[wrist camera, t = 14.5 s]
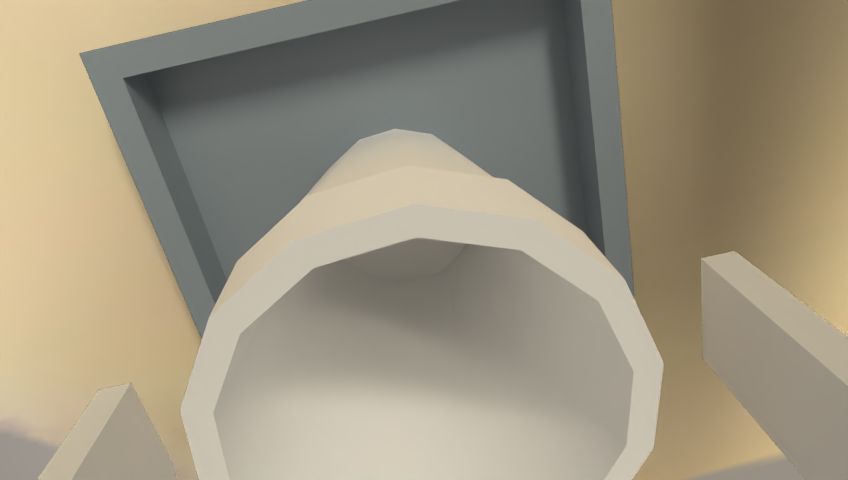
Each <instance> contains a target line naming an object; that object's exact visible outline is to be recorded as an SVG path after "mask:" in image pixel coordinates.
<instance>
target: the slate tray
mask: <svg viewBox="0 0 848 480" xmlns="http://www.w3.org/2000/svg"><path fill="white" fill-rule="evenodd" d="M79 54H80V57H81V59H82V61H83V64H84V66H85V68H86V71H87V73H88V75H89V78H90V80H91V82H92V85H93V87H94V89H95V92H96V94H97V96H98V99H99V101H100V103H101V106H102V108H103V110H104V113H105V115H106V117H107V120H108V122H109V124H110V127H111V129H112V131H113V134H114V136H115V138H116V141H117V143H118V145H119V148H120V150H121V152H122V155H123V157H124V159H125V162H126V164H127V166H128V168H129V171H130V173H131V175H132V178H133V180H134V182H135V185H136V187H137V189H138V192H139V194H140V196H141V199H142V201H143V203H144V206H145V208H146V210H147V213H148V215H149V217H150V220H151V222H152V224H153V227H154V229H155V231H156V234H157V236H158V238H159V241H160V243H161V245H162V248H163V250H164V252H165V255H166V257H167V259H168V262H169V264H170V266H171V269H172V271H173V273H174V276H175V278H176V280H177V283H178V285H179V287H180V290H181V292H182V294H183V296H184V299H185V301H186V303H187V306H188V308H189V310H190V313H191V315H192V317H193V320H194V322H195V324H196V327H197V329H198V331H199V334H200V336H201V338H203V334H204V331H205V328H206V325H207V322H208V319H209V316H210V314H211V312H212V310H213V308H214V306H215V304H216V302H217V300H218V298H219V296H220V294H221V292H222V290H223V288H224V286H225V284H226V282H227V280H228V278H229V276H230V274H231V272H232V270H233V268H234V266H235V264H236V262H237V261H238V260H239V259H240V258H241V257H242V256H243V255H244V254H245V253H246V252H247V251H248V250H250V249H251V248H252V247H253V246H254V245H255V244H256V243H257V242H258V241H259V240H260V239H261V238H262V237H263V236H265V235H266V234H267V233H268V232H269V231H270V230H271V229H272V228H273V227H274V226H275V225H276V224H277V223H278V222H280V221H281V220H282V219H283V218H284V217H285V216H286V215H287V214H288V213H289V212H290V211H291V210H292V209H294V208H295V207H296V206H297V205H298V204H299V203H300V202H301V200H302V199H303V198H304V197H305V196H306V195H307V193H308V192H309V191H310V190H311V189H312V188H313V186H314V185H315V184H316V183H317V182H318V181H319V180H320V178H321V177H322V176H323V175H324V174H325V173H326V171H327V170H328V169H329V168H330V167H331V166H332V165H333V164H334V163H335V162H336V161H337V160H338V159H339V158H340V157H341V156H343V155H344V154H345V153H346V152H347V151H348V150H349V149H350V148H351V147H352V146H353V145H354V144H355V143H356V142H357V141H359V140H360V139H363V138H366V137H370V136H373V135H376V134H379V133H383V132H386V131H389V130H392V129H400V130H407V131H414V132H421V133H427V134H432V135H434V136H436V137H437V138H438V139H440V140H441V141H443V142H444V143H446V144H447V145H449V146H450V147H452V148H453V149H454V150H456V151H457V152H459V153H460V154H462V155H463V156H465V157H466V158H467V159H469V160H470V161H472V162H473V163H474V164H476V165H477V166H478V167H480V168H481V169H483V170H484V171H485V172H487V173H488V174H489V175H491V176H492V177H495V178H502V179H508V180H509V181H511V182H512V183H514V184H515V185H517V186H518V187H519V188H521V189H522V190H524V191H525V192H527V193H528V194H530V195H531V196H532V197H534V198H535V199H537V200H538V201H540V202H541V203H543V204H544V205H545V206H547V207H548V208H550V209H551V210H553V211H554V212H556V213H557V214H558V215H560V216H561V217H563V218H564V219H566V220H567V221H569V222H570V223H572V224H573V225H574V226H576V227H577V228H579V229H580V230H582V231H583V232H584V233H585V234H586V235H587V237H588V238H589V239H590V240H591V241H592V242H593V244H594V245H595V246H596V247H597V248H598V249H599V250H600V252H601V253H602V254H603V255H604V256H605V257H606V258H607V260H608V261H609V262H610V263H611V264H612V265H613V267H614V268H615V269H616V270H617V271H618V272H619V273H620V275H621V276H622V277H623V278H624V279H625V281H626V283H627V285H628V287H629V289H630V291H631V293H632V296H633V298H634V286H633V273H632V260H631V247H630V234H629V221H628V208H627V196H626V183H625V170H624V157H623V144H622V131H621V118H620V105H619V92H618V79H617V66H616V53H615V41H614V28H613V15H612V2H611V0H307V1H303V2H299V3H294V4H290V5H286V6H282V7H277V8H273V9H269V10H264V11H260V12H256V13H251V14H247V15H243V16H238V17H234V18H230V19H225V20H221V21H217V22H212V23H208V24H204V25H200V26H195V27H191V28H187V29H182V30H178V31H174V32H169V33H165V34H161V35H156V36H152V37H148V38H143V39H139V40H135V41H130V42H126V43H122V44H118V45H113V46H109V47H105V48H100V49H96V50H92V51H87V52H83V53H79ZM634 300H635V299H634Z"/></svg>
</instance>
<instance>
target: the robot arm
mask: <svg viewBox="0 0 848 480" xmlns="http://www.w3.org/2000/svg"><path fill="white" fill-rule="evenodd" d="M701 298H702V358H703V360H704V361H705V362H706V363H707V364H708V366H709V367H710V368H711V369H712V370H713V371H714V373H715V374H716V375H717V376H718V377H719V378H720V380H721V381H722V382H723V383H724V384H725V385H726V387H727V388H728V389H729V390H730V391H731V393H732V394H733V395H734V396H735V397H736V398H737V400H738V401H739V402H740V403H741V404H742V405H743V407H744V408H745V409H746V410H747V411H748V412H749V414H750V415H751V416H752V417H753V418H754V420H755V421H756V422H757V423H758V424H759V425H760V427H761V428H762V429H763V430H764V431H765V432H766V434H767V435H768V436H769V437H770V438H771V439H772V441H773V442H774V443H775V444H776V445H777V446H778V448H779V449H780V450H781V451H782V452H783V454H784V455H785V456H786V457H787V458H788V459H789V461H790V462H791V463H792V464H793V465H794V466H795V468H796V469H797V470H798V471H799V472H800V473H801V475H802V476H803V477H804V478H805V479H806V480H848V337H847V336H846V335H844V334H843V333H842V332H840V331H839V330H838V329H836V328H835V327H834V326H832V325H831V324H830V323H829V322H827V321H826V320H825V319H823V318H822V317H821V316H819V315H818V314H817V313H815V312H814V311H813V310H812V309H810V308H809V307H808V306H806V305H805V304H804V303H802V302H801V301H800V300H798V299H797V298H796V297H795V296H793V295H792V294H791V293H789V292H788V291H787V290H785V289H784V288H783V287H781V286H780V285H779V284H778V283H776V282H775V281H774V280H772V279H771V278H770V277H768V276H767V275H766V274H764V273H763V272H762V271H760V270H759V269H758V268H757V267H755V266H754V265H753V264H751V263H750V262H749V261H747V260H746V259H745V258H743V257H742V256H741V255H740V254H738V253H737V252H736V251H732V252H728V253H723V254H718V255H714V256H709V257H705V258H701ZM176 472H177V471H176V469H175V467H174V465H173V463H172V461H171V459H170V457H169V455H168V453H167V451H166V449H165V447H164V445H163V443H162V442H161V440H160V438H159V436H158V434H157V432H156V430H155V428H154V426H153V424H152V422H151V420H150V418H149V416H148V414H147V413H146V411H145V409H144V407H143V405H142V403H141V401H140V399H139V397H138V395H137V393H136V391H135V389H134V387H133V385H132V384H131V383H128V384H123V385H118V386H114V387H109V388H105V389H100V390H98V391H97V393H96V394H95V396H94V397H93V399H92V400H91V402H90V403H89V405H88V406H87V407H86V409H85V410H84V412H83V413H82V415H81V416H80V418H79V419H78V421H77V422H76V424H75V425H74V426H73V428H72V429H71V431H70V432H69V434H68V435H67V437H66V438H65V440H64V441H63V443H62V444H61V445H60V447H59V448H58V450H57V451H56V453H55V454H54V456H53V457H52V459H51V460H50V461H49V463H48V464H47V466H46V467H45V469H44V470H43V472H42V473H41V475H40V476H39V478H38V479H37V480H173V479H174V477H175V474H176Z"/></svg>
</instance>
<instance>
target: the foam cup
mask: <svg viewBox="0 0 848 480" xmlns="http://www.w3.org/2000/svg"><path fill="white" fill-rule="evenodd" d="M663 368H664V362H663V360H662V358H661V356H660V354H659V351H658V349H657V347H656V345H655V343H654V341H653V339H652V336H651V334H650V332H649V330H648V328H647V326H646V323H645V321H644V319H643V317H642V315H641V313H640V311H639V308H638V306H637V304H636V302H635V300H634V298H633V296H632V293H631V291H630V289H629V287H628V285H627V283H626V281H625V279H624V278H623V277H622V276H621V275H620V273H619V272H618V271H617V270H616V269H615V268H614V267H613V265H612V264H611V263H610V262H609V261H608V260H607V258H606V257H605V256H604V255H603V254H602V253H601V252H600V250H599V249H598V248H597V247H596V246H595V245H594V244H593V242H592V241H591V240H590V239H589V238H588V237H587V235H586V234H585V233H584V232H583V231H582V230H580V229H579V228H577V227H576V226H574V225H573V224H572V223H570V222H569V221H567V220H566V219H564V218H563V217H561V216H560V215H558V214H557V213H556V212H554V211H553V210H551V209H550V208H548V207H547V206H545V205H544V204H543V203H541V202H540V201H538V200H537V199H535V198H534V197H532V196H531V195H530V194H528V193H527V192H525V191H524V190H522V189H521V188H519V187H518V186H517V185H515V184H514V183H512V182H511V181H509V180H508V179H502V178H495V177H492V176H491V175H489V174H488V173H487V172H485V171H484V170H483V169H481V168H480V167H478V166H477V165H476V164H474V163H473V162H472V161H470V160H469V159H467V158H466V157H465V156H463V155H462V154H460V153H459V152H457V151H456V150H454V149H453V148H452V147H450V146H449V145H447V144H446V143H444V142H443V141H441V140H440V139H438V138H437V137H436V136H434V135H432V134H427V133H421V132H414V131H407V130H400V129H392V130H389V131H386V132H383V133H379V134H376V135H373V136H370V137H366V138H363V139H360V140H359V141H357V142H356V143H355V144H354V145H353V146H352V147H351V148H350V149H349V150H348V151H347V152H346V153H345V154H344V155H343V156H341V157H340V158H339V159H338V160H337V161H336V162H335V163H334V164H333V165H332V166H331V167H330V168H329V169H328V170H327V171H326V173H325V174H324V175H323V176H322V177H321V178H320V180H319V181H318V182H317V183H316V184H315V185H314V186H313V188H312V189H311V190H310V191H309V192H308V193H307V195H306V196H305V197H304V198H303V199H302V200H301V202H300V203H299V204H298V205H297V206H296V207H295V208H294V209H292V210H291V211H290V212H289V213H288V214H287V215H286V216H285V217H284V218H283V219H282V220H281V221H280V222H278V223H277V224H276V225H275V226H274V227H273V228H272V229H271V230H270V231H269V232H268V233H267V234H266V235H265V236H263V237H262V238H261V239H260V240H259V241H258V242H257V243H256V244H255V245H254V246H253V247H252V248H251V249H250V250H248V251H247V252H246V253H245V254H244V255H243V256H242V257H241V258H240V259H239V260H238V261H237V262H236V264H235V266H234V268H233V270H232V272H231V274H230V276H229V278H228V280H227V282H226V284H225V286H224V288H223V290H222V292H221V294H220V296H219V298H218V300H217V302H216V304H215V306H214V308H213V310H212V312H211V314H210V316H209V319H208V322H207V325H206V328H205V331H204V334H203V338H202V341H201V344H200V347H199V350H198V354H197V357H196V360H195V363H194V366H193V369H192V373H191V376H190V379H189V382H188V385H187V389H186V392H185V395H184V398H183V401H182V404H181V408H180V414H181V417H182V421H183V425H184V428H185V432H186V436H187V439H188V443H189V446H190V450H191V454H192V457H193V461H194V465H195V468H196V472H197V476H198V479H199V480H632V479H633V478H634V476H635V475H636V473H637V472H638V470H639V469H640V467H641V466H642V464H643V463H644V462H645V460H646V459H647V457H648V456H649V454H650V453H651V451H652V450H653V448H654V442H655V433H656V425H657V417H658V409H659V401H660V392H661V384H662V376H663Z"/></svg>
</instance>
